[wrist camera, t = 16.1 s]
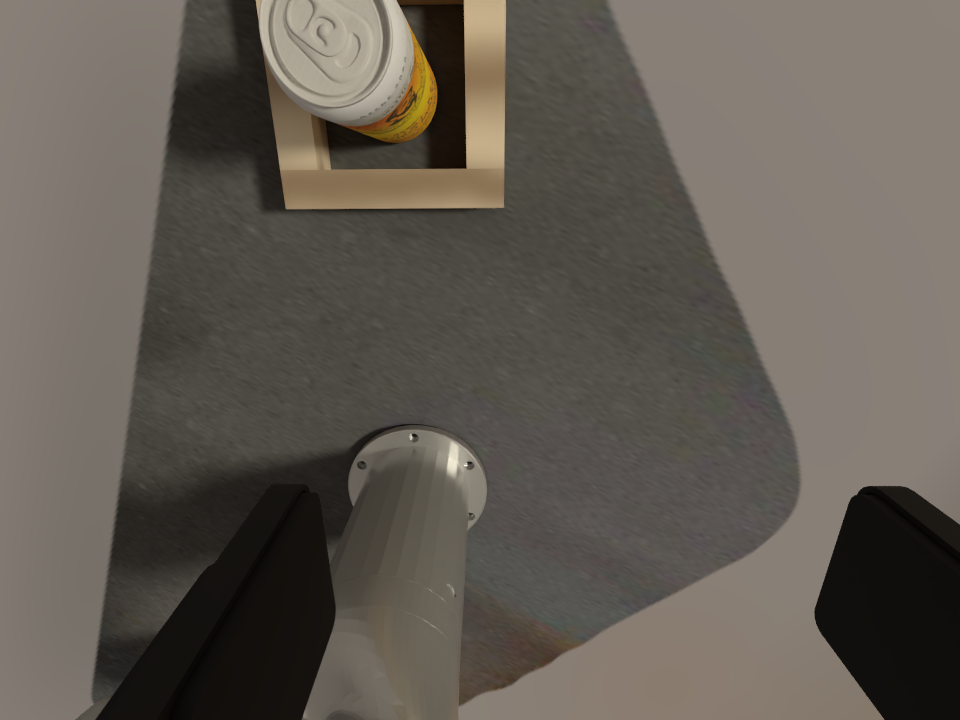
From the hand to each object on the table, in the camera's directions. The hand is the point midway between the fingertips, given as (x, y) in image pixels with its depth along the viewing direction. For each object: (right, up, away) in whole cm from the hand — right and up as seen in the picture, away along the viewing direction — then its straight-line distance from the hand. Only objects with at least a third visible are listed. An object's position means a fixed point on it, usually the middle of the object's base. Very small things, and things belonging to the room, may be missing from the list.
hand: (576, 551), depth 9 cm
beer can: (-8, +22, +25) cm, 34 cm away
